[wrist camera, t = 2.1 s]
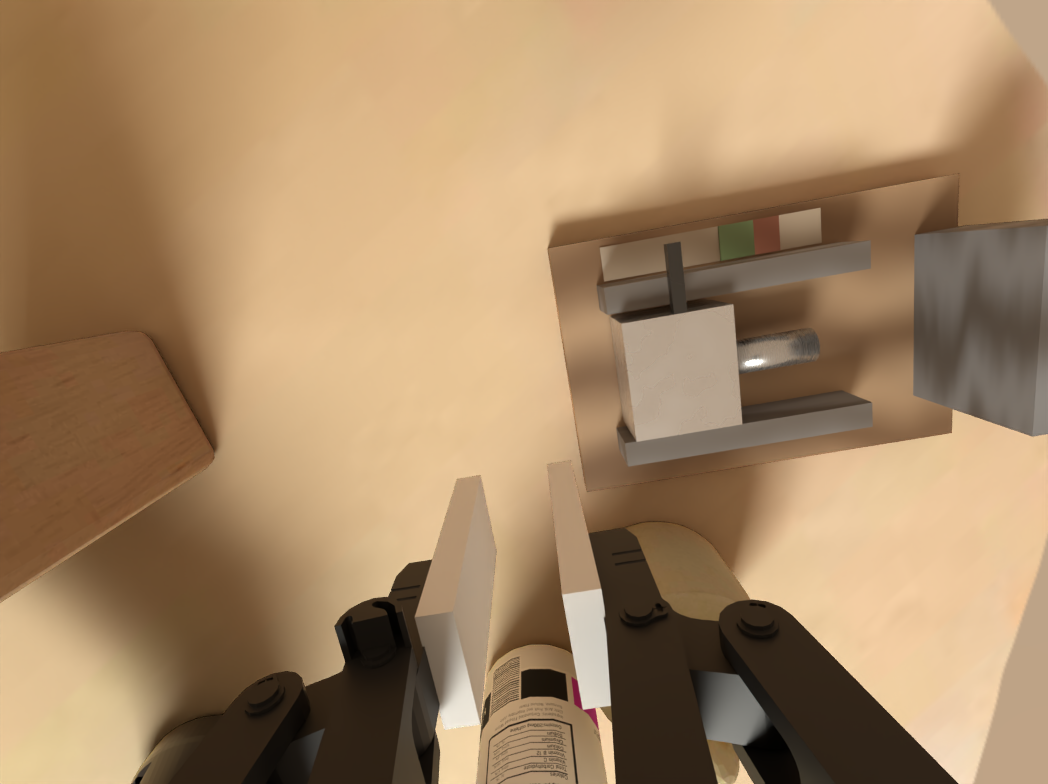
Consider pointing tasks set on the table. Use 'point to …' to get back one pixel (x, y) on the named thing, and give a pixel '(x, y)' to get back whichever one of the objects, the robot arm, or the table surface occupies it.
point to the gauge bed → (821, 326)
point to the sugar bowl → (691, 596)
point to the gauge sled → (692, 361)
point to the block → (86, 446)
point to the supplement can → (537, 722)
